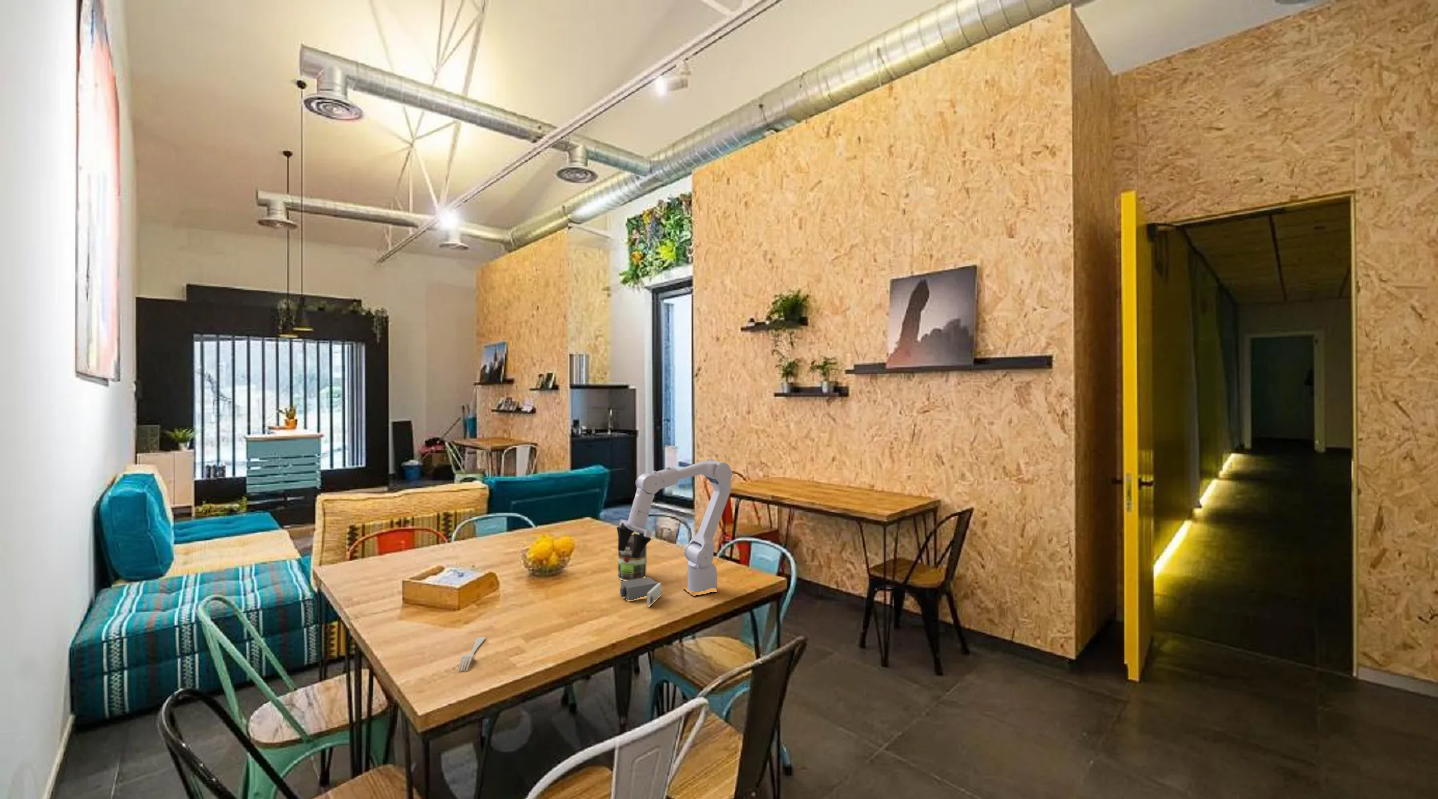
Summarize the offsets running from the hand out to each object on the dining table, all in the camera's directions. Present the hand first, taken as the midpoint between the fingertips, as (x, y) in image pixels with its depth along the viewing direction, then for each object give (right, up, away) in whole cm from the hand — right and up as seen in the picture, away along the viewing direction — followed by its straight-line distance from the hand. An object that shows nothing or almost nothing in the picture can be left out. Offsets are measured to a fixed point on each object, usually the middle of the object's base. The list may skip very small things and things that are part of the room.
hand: (627, 554), depth 185 cm
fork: (-34, -17, -34) cm, 51 cm away
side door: (+8, -16, +3) cm, 18 cm away
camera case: (+2, -16, +9) cm, 18 cm away
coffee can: (-3, -16, +27) cm, 32 cm away
